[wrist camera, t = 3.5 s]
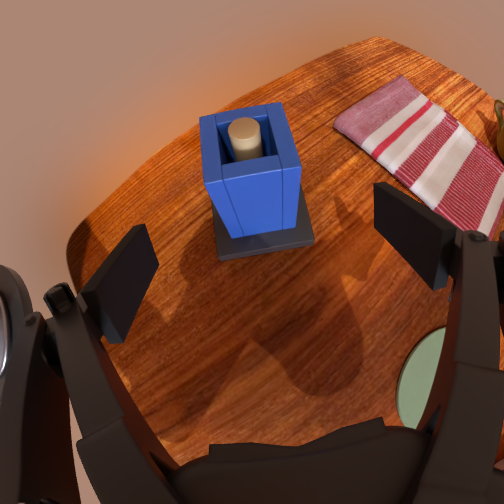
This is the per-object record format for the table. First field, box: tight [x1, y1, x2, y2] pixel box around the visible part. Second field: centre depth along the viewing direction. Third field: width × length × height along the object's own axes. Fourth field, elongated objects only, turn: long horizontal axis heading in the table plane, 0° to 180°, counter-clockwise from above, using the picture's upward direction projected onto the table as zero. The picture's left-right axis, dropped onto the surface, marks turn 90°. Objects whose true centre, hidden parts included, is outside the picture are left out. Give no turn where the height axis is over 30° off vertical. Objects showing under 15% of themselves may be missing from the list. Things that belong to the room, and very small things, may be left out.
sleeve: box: [199, 102, 302, 238], centre depth 22 cm, size 6×6×10 cm
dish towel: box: [333, 75, 504, 241], centre depth 27 cm, size 17×23×3 cm
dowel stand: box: [211, 117, 315, 261], centre depth 22 cm, size 9×9×12 cm
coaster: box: [396, 327, 446, 429], centre depth 20 cm, size 12×12×1 cm
